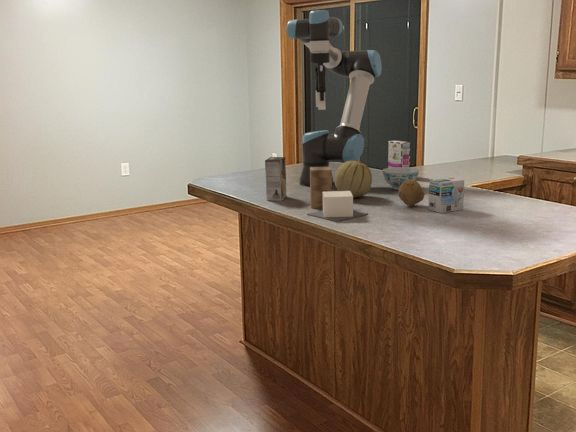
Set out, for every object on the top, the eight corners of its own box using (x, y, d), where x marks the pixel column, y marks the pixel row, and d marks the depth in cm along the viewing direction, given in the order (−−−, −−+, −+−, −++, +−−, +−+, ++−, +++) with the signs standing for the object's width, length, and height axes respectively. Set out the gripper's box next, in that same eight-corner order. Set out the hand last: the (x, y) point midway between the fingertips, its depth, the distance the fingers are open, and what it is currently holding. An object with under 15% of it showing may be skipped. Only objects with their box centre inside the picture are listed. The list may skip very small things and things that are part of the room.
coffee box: (271, 195, 250) (270, 156, 246) (286, 196, 249) (285, 156, 245) (266, 200, 241) (264, 160, 238) (282, 200, 240) (280, 160, 236)
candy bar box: (410, 177, 282) (410, 142, 278) (401, 178, 280) (401, 142, 276) (396, 174, 291) (396, 139, 288) (387, 175, 289) (387, 140, 286)
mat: (337, 208, 225) (337, 206, 225) (367, 214, 213) (367, 213, 213) (307, 214, 215) (307, 213, 215) (336, 222, 204) (336, 220, 204)
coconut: (392, 205, 227) (392, 178, 225) (412, 202, 230) (413, 176, 228) (406, 209, 219) (407, 182, 217) (427, 206, 222) (427, 179, 220)
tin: (330, 203, 233) (330, 166, 230) (332, 207, 226) (331, 169, 222) (310, 203, 233) (309, 167, 230) (311, 208, 226) (310, 170, 222)
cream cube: (350, 210, 219) (350, 190, 217) (353, 216, 209) (353, 196, 208) (322, 210, 219) (322, 191, 217) (324, 217, 210) (324, 197, 208)
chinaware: (408, 192, 248) (408, 174, 246) (375, 189, 257) (375, 171, 255) (424, 186, 260) (425, 168, 258) (392, 183, 269) (393, 166, 267)
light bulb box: (440, 213, 212) (441, 182, 210) (427, 209, 218) (428, 180, 215) (464, 209, 217) (465, 179, 214) (450, 206, 223) (451, 176, 220)
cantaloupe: (326, 198, 242) (326, 160, 239) (349, 192, 253) (349, 156, 249) (357, 202, 232) (357, 163, 229) (379, 196, 243) (379, 158, 239)
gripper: (332, 52, 225) (333, 110, 230) (326, 52, 249) (327, 105, 254) (311, 52, 225) (313, 111, 230) (308, 53, 249) (309, 106, 254)
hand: (320, 108), depth 242 cm, fingers open, 13 cm apart
